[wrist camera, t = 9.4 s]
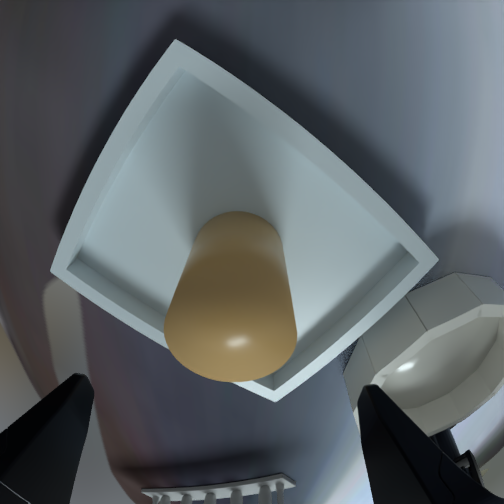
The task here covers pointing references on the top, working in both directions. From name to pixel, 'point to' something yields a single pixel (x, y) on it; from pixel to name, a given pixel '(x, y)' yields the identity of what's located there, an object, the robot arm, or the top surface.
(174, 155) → the grey tray
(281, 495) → the test tube rack
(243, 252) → the tan rounded cylinder
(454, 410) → the ceramic dish
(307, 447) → the top surface
